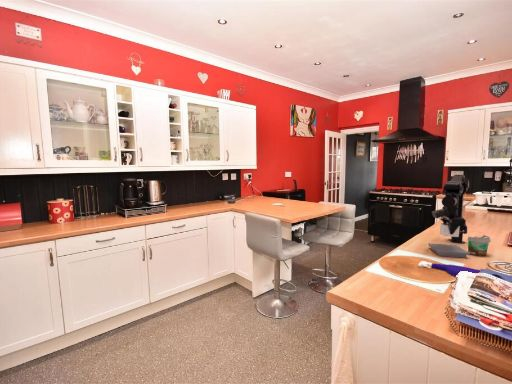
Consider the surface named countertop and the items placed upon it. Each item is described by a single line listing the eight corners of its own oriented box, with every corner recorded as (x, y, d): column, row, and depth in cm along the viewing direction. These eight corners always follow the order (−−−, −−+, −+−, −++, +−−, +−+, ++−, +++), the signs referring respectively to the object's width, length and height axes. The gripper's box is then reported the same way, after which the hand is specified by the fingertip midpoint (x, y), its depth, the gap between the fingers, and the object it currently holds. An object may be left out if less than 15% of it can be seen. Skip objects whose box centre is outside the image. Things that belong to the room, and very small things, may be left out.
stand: (428, 248, 150) (428, 243, 149) (455, 250, 146) (455, 245, 146) (438, 256, 136) (439, 251, 136) (469, 258, 133) (469, 253, 133)
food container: (478, 258, 134) (480, 239, 133) (466, 254, 140) (467, 236, 138) (495, 255, 137) (497, 237, 136) (482, 252, 143) (484, 234, 142)
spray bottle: (487, 270, 111) (422, 257, 129) (486, 278, 104) (416, 263, 121) (487, 277, 112) (422, 263, 129) (485, 285, 104) (416, 269, 121)
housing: (439, 233, 143) (440, 221, 143) (454, 234, 142) (455, 221, 141) (443, 236, 139) (444, 223, 138) (458, 236, 137) (459, 223, 136)
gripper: (427, 202, 149) (425, 228, 151) (442, 207, 131) (440, 236, 133) (449, 202, 147) (447, 229, 148) (467, 208, 129) (464, 238, 130)
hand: (449, 233), depth 140 cm, fingers closed on housing, 5 cm apart
